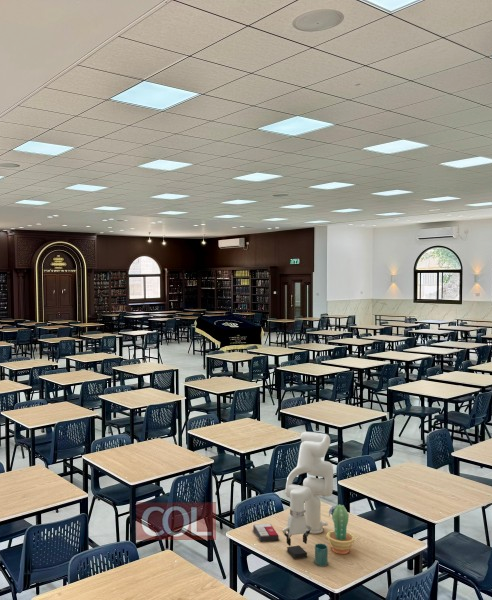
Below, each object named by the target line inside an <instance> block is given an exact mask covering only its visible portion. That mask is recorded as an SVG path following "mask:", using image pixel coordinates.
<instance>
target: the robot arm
mask: <svg viewBox="0 0 492 600" xmlns="http://www.w3.org/2000/svg"><path fill="white" fill-rule="evenodd" d="M300 441H301V443H300V445H299V451H298V456H297V457H298V458H297V464H296V467H294V468H293V469H292V470H291V471H290V473H289V474H288V476H287V478H286V483H285V490H284V491H285V495H286V497H287V498H289V514H288V516H287V521H286V527H284V528H283V529H282V530H281V532H282V533H283V535H284V536H285V537H286V544H287V545H288V547H291V546H292V539H291V537H292V536H295V535H302V543H303V544H305V545H306V544H307V542H308V537H309V534H314V535H315V534H316V535H317V534H318V535H319V534H321V533H323V532H324V527H326V526H327V527H328V526H329V522H328V521H325V522H324V521H323V520H322V521H321V517H322V516H321V508H322V507H321V506H322V503H321V498H320V497H319V496H322V497H331V496H332V495H333V491H334V466H333V464H332V462H330V461H327V460H322V458H324V457H325V456H326V454H327V452H328V450H329V448H330V446H331V437H330V436H329V434H327V433H320V432H314V431H303V432H301V434H300ZM305 473H306V474H308V475H309V477H308V476H307V477H305V478H304V479H303V482H302V485H299V484H294V483H293V482H294V480H295V478H297V477H298V476H300V475H302V474H305ZM311 476H312V477H311ZM313 476H314V477H313Z"/></svg>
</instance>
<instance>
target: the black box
mask: <svg viewBox="0 0 492 600" xmlns="http://www.w3.org/2000/svg"><path fill="white" fill-rule="evenodd" d="M286 552H287V553H288V554H289V555H290V556H291V557H292V559H294V560H299V559H305V558H308V551H306V550H305V549H304V548H303V547H302V546H301V545H290V546H287V548H286Z"/></svg>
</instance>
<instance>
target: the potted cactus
mask: <svg viewBox="0 0 492 600" xmlns="http://www.w3.org/2000/svg"><path fill="white" fill-rule="evenodd" d="M347 510H348V509H346V507H345V505H344V504H340V503H339V504H336V505H332V506H331V507H330V508H329V510H328V516H329V517H331V519H332V522H333V530H330V531H328V532H327V533H326V538H327V540H328V542H329V544H330V546H331V547H332V549H331V550H332V551H333V552H334V553H336V554H341V555H346V554H349V552H350V549H351V547H352V545H353V544H354V542H355V539H356V536H355V535H354V534H352V533H351V532H349V531H347V527H348V523H349V517H350V516H349V513H348V511H347Z"/></svg>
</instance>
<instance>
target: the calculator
mask: <svg viewBox="0 0 492 600" xmlns="http://www.w3.org/2000/svg"><path fill="white" fill-rule="evenodd" d="M252 526H253V529H252V531H253V533H254V534H255V535H256V537H257V538H258V540H259V542H261V543H263V542H264V543H265V542H278V541H279V537H280V535H279V534H278V532H277V531H276V530H275V528H274V526H273V525H272V523H270V522H269V523H258V524H253V525H252Z"/></svg>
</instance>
